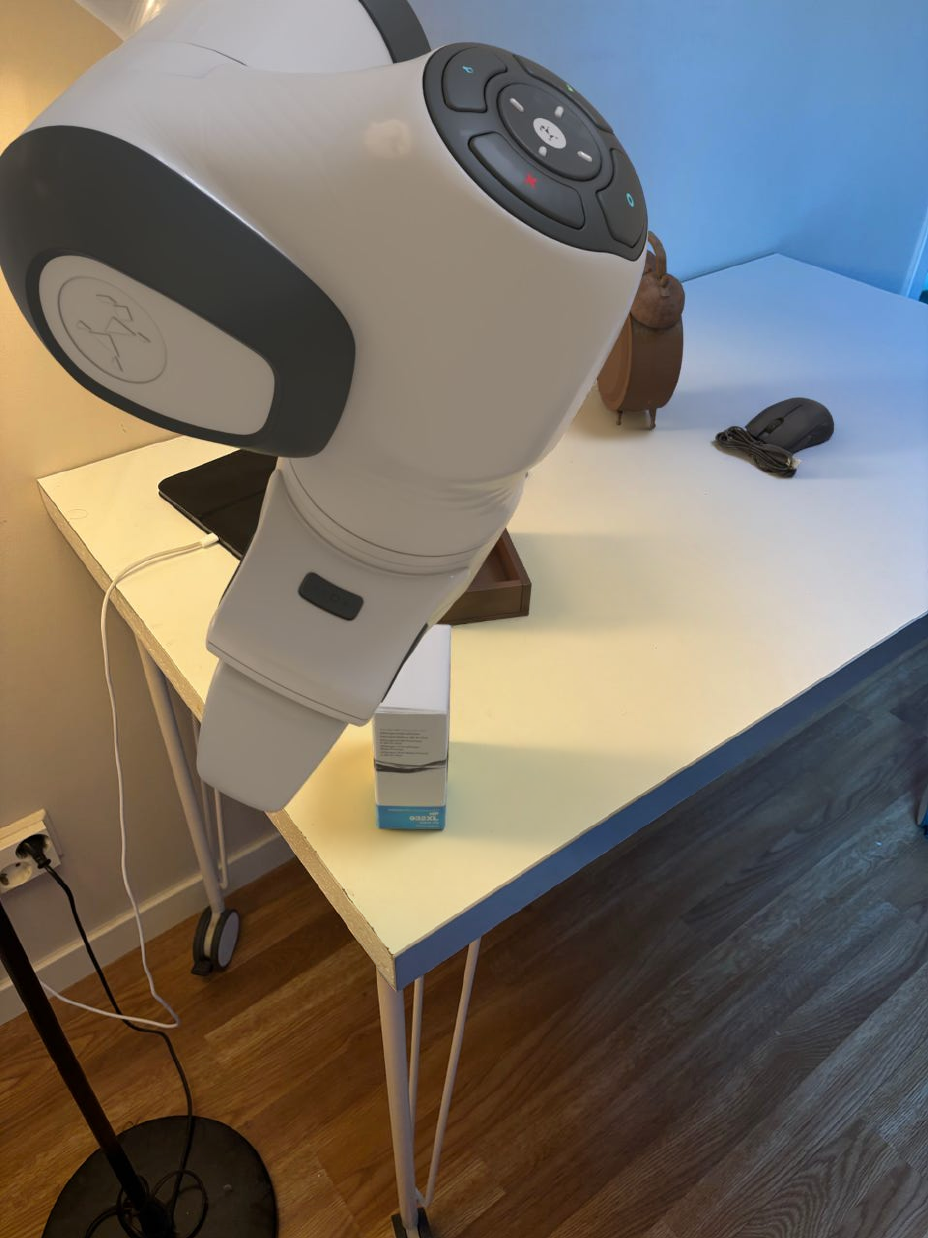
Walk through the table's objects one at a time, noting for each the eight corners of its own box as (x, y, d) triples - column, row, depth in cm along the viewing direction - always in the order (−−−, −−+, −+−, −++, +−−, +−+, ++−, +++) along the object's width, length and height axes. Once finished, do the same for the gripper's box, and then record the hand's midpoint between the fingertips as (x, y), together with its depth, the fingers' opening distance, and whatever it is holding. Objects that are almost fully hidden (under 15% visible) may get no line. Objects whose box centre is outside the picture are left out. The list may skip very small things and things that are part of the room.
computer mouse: (859, 439, 108) (870, 408, 105) (785, 483, 100) (795, 451, 98) (784, 405, 113) (792, 375, 111) (708, 444, 106) (715, 413, 103)
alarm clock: (677, 440, 106) (713, 260, 93) (614, 443, 105) (642, 262, 92) (639, 380, 117) (667, 211, 104) (582, 382, 116) (603, 212, 103)
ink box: (445, 832, 65) (449, 713, 57) (373, 830, 65) (367, 710, 57) (449, 739, 72) (453, 620, 64) (384, 736, 72) (380, 618, 64)
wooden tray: (432, 627, 81) (432, 596, 79) (405, 541, 90) (404, 511, 88) (528, 615, 83) (531, 583, 81) (492, 532, 92) (494, 501, 90)
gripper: (411, 318, 43) (341, 503, 54) (181, 664, 31) (152, 811, 42) (534, 385, 43) (440, 554, 54) (356, 752, 31) (282, 874, 42)
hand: (314, 668), depth 48 cm, fingers open, 8 cm apart
